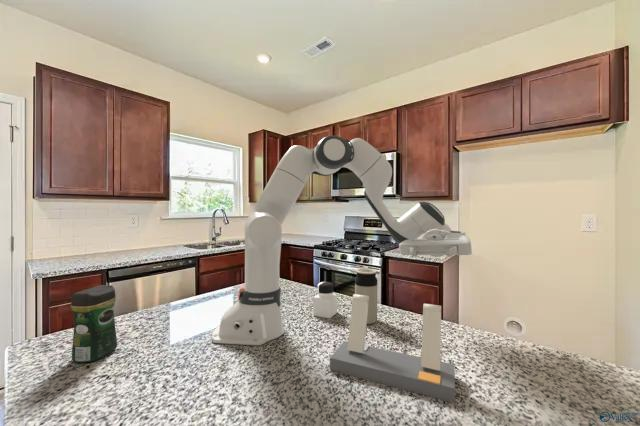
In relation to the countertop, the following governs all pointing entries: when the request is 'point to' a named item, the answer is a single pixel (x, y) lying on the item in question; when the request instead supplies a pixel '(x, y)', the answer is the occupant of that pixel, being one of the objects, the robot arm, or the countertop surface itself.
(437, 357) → the outer lever
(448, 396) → the switch unit
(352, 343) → the inner lever
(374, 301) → the travel mug
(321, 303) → the medicine bottle
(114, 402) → the countertop surface
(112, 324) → the coffee jar
